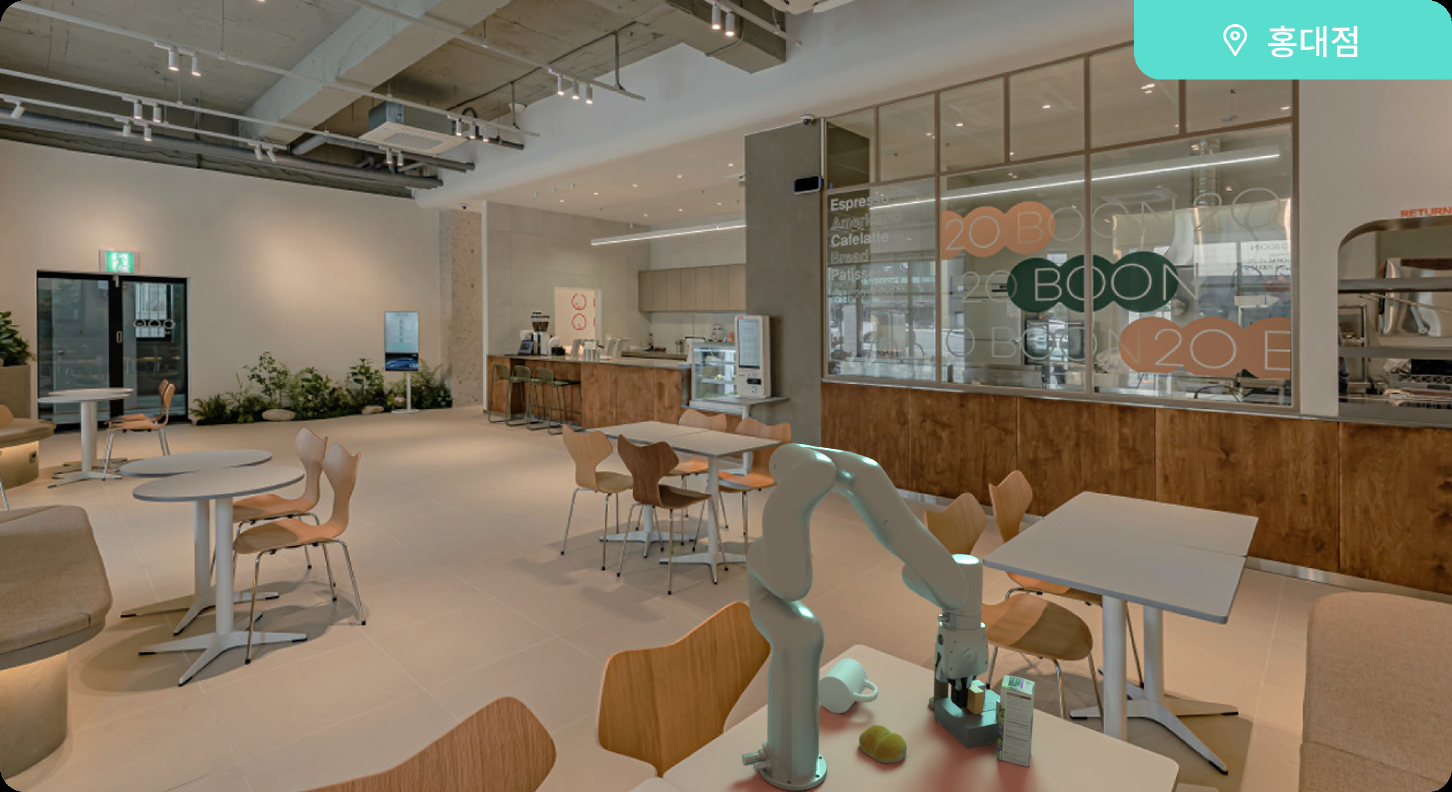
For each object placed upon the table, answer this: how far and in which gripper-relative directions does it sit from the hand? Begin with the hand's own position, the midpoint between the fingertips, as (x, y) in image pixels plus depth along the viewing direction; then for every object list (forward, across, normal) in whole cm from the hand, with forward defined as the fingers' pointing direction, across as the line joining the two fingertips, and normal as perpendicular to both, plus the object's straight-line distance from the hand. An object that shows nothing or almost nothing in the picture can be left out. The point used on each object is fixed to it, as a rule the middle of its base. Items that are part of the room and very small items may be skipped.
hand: (959, 704), depth 139 cm
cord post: (+6, +2, +9) cm, 11 cm away
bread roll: (+6, -18, -1) cm, 19 cm away
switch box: (+6, +5, 0) cm, 8 cm away
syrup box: (+6, +5, -10) cm, 13 cm away
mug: (+6, -16, +16) cm, 23 cm away
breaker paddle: (+1, +3, 0) cm, 4 cm away
